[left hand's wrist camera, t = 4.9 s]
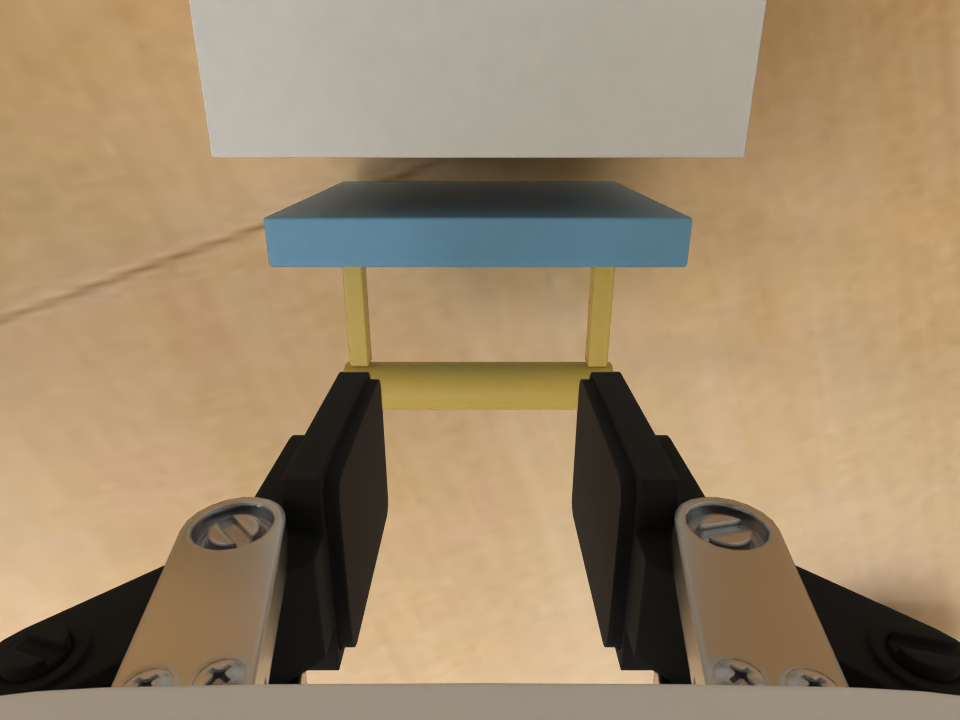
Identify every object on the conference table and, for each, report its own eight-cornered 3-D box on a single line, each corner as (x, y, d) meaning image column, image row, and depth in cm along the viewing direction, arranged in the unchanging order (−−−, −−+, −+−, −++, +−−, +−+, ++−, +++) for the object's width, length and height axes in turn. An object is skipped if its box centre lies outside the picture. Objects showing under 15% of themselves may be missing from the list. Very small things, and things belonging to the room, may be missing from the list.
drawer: (602, 347, 26) (663, 461, 17) (354, 347, 26) (292, 461, 17) (657, -378, 18) (821, -836, 9) (299, -378, 18) (132, -836, 9)
